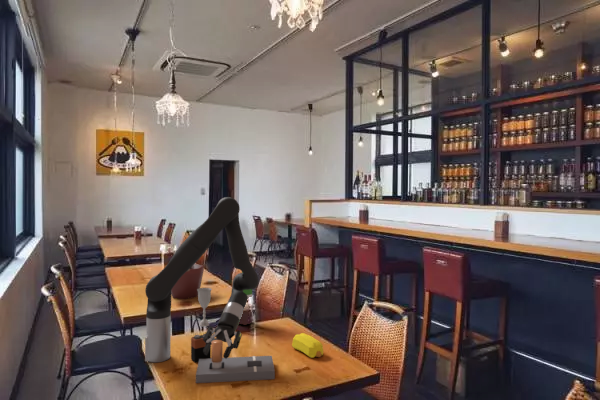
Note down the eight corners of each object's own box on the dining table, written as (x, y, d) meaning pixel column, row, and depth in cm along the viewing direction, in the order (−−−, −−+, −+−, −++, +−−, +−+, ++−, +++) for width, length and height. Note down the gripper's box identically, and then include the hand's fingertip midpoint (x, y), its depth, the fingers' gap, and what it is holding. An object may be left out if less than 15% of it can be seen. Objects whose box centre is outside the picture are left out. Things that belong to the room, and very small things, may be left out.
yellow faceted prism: (302, 343, 190) (288, 347, 186) (302, 329, 190) (288, 332, 185) (327, 357, 175) (312, 361, 171) (327, 341, 175) (312, 345, 171)
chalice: (213, 323, 216) (214, 288, 215) (207, 327, 209) (207, 291, 209) (201, 322, 218) (201, 287, 217) (194, 326, 211) (194, 290, 211)
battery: (190, 359, 171) (190, 334, 171) (206, 355, 175) (206, 331, 175) (194, 363, 167) (195, 338, 167) (211, 359, 171) (211, 334, 171)
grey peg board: (195, 383, 150) (195, 374, 150) (199, 366, 164) (199, 358, 164) (274, 379, 154) (274, 370, 154) (271, 363, 168) (271, 355, 168)
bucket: (196, 301, 257) (196, 260, 256) (160, 300, 257) (160, 259, 257) (206, 291, 281) (206, 253, 281) (173, 290, 282) (173, 253, 281)
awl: (211, 376, 156) (211, 343, 156) (211, 371, 160) (211, 339, 160) (222, 375, 157) (222, 343, 156) (222, 371, 161) (222, 339, 160)
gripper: (212, 309, 167) (194, 348, 157) (244, 313, 162) (227, 354, 152) (219, 318, 172) (202, 357, 162) (250, 323, 167) (235, 363, 157)
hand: (214, 355), depth 157 cm, fingers open, 8 cm apart
